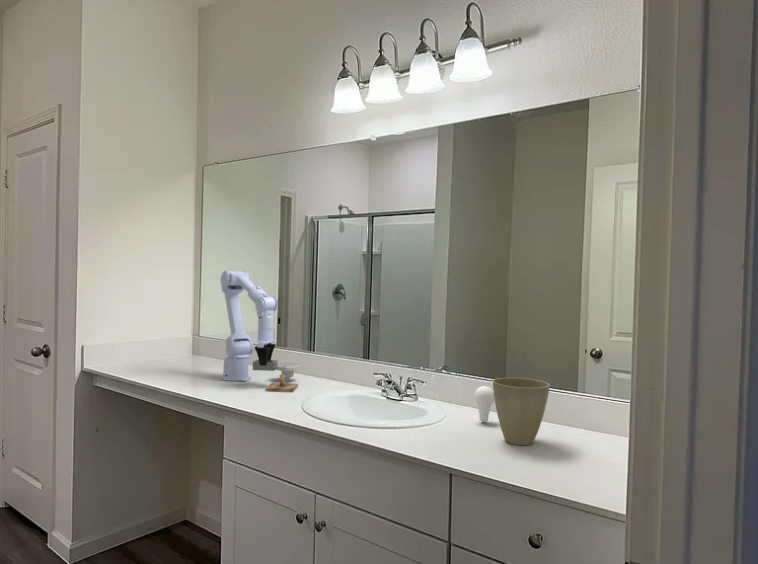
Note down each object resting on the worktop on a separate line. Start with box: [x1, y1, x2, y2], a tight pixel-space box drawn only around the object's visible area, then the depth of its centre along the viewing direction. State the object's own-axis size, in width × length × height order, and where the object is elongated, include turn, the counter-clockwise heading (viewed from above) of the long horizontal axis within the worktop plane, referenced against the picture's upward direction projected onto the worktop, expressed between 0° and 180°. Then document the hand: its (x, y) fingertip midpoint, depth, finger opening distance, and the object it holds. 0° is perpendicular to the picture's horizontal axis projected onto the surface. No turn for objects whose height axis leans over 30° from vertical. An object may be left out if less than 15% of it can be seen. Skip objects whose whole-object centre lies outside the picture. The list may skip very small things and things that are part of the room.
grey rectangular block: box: [252, 359, 278, 372], centre depth 212 cm, size 8×6×3 cm
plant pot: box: [492, 377, 550, 446], centre depth 150 cm, size 15×15×16 cm
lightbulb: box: [473, 385, 495, 424], centre depth 169 cm, size 6×6×11 cm
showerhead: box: [276, 362, 300, 383], centre depth 224 cm, size 9×7×10 cm
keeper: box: [265, 374, 299, 393], centre depth 209 cm, size 10×10×5 cm
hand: (265, 364), depth 212 cm, fingers closed on grey rectangular block, 5 cm apart
